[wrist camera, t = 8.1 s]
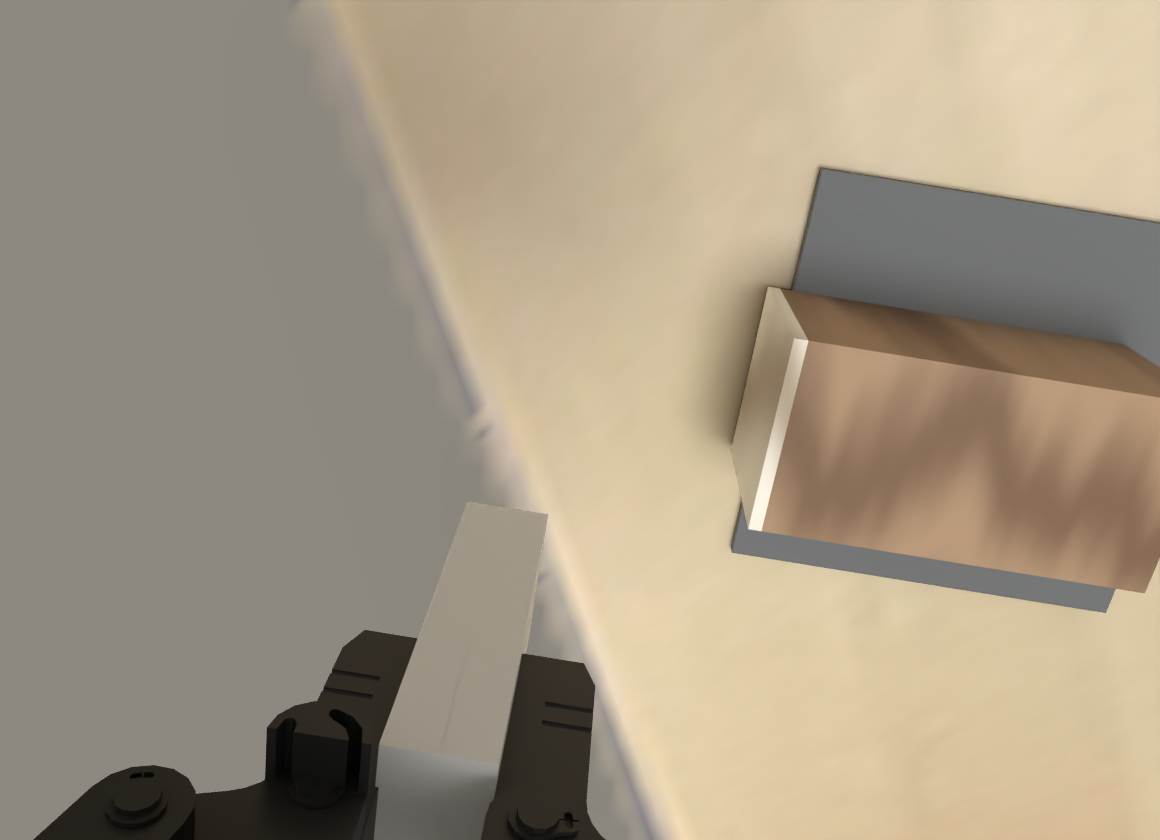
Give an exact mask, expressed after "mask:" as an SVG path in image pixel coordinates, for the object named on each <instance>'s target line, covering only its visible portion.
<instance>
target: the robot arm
mask: <svg viewBox="0 0 1160 840" xmlns="http://www.w3.org/2000/svg"><path fill="white" fill-rule="evenodd" d="M547 518H548V514H542V513H535V512H529V511H523V510H517V509H511V508H505V507H499V506H492V505H486V504H480V503H474V502H467V505H466V508H465V510H464V513H463V516H462V519H461V521H460V524H459V527H458V529H457V532H456V535H455V538H454V540H453V543H452V546H451V548H450V551H449V554H448V557H447V560H446V562H445V565H444V568H443V570H442V573H441V576H440V579H439V582H438V584H437V587H436V590H435V592H434V595H433V598H432V601H431V603H430V606H429V609H428V611H427V614H426V617H425V620H424V623H423V625H422V628H421V631H420V633H419V636H418V639H417V638H411V637H404V636H399V635H393V634H386V633H380V632H374V631H368V630H364V631H363V632H362V633H361V634H359V635H358V636H357V637H355V638H354V639H353V640H351V641H350V642H349V643H348V644H347V645H345V646H344V647H343V648H342V650H341V652H340V654H339V656H338V658H337V661H336V663H335V665H334V667H333V669H332V673H331V674H330V675H329V677H328V680H327V682H326V684H325V686H324V690H323V691H322V692H321V694H320V696H319V698H318V701H314V702H309V703H305V704H300V705H296V706H293V707H291V708H290V709H288V710H286V711H284V712H282V713H280V714H279V715H277V716H276V718H275V719H274V720H273V721H272V722H271V724H270V725H269V726H268V727H267V743H266V772H265V780H264V781H262V782H260V783H257V784H255V785H252V786H249V787H246V788H242V789H236V790H231V791H222V792H211V793H200V794H195V790H194V788H193V786H192V784H191V782H190V781H189V779H188V778H187V777H185V776H184V775H182V774H180V773H179V772H177V771H175V770H174V769H170V768H165V767H160V766H155V765H152V766H140V767H131V768H128V769H125V770H122V771H119V772H116V773H113V774H110V775H109V776H107V777H106V778H104V779H103V780H101V781H100V782H99V783H97V784H95V785H94V786H92V787H91V788H90V789H89V790H88V791H87V792H86V793H84V794H83V795H82V796H81V797H80V798H79V799H78V800H77V801H76V802H75V803H73V804H72V805H71V806H70V807H69V808H68V809H67V810H66V811H65V812H63V813H62V814H61V815H60V816H59V817H58V818H57V819H56V820H55V821H54V822H52V823H51V824H50V825H49V826H48V827H47V828H46V829H45V830H44V831H42V832H41V833H40V834H39V835H38V836H37V837H36V838H35V839H34V840H605V839H604V838H603V837H602V836H601V835H600V834H599V833H598V831H597V830H596V828H595V827H594V826H593V824H592V822H591V820H590V817H589V815H588V813H587V803H586V799H587V785H588V773H589V772H588V771H589V759H590V746H591V731H592V720H593V707H594V694H595V685H594V683H593V681H592V679H591V677H590V675H589V673H588V671H587V669H586V667H585V665H584V663H578V662H572V661H565V660H559V659H553V658H547V657H541V656H535V655H528V654H526V650H527V644H528V639H529V633H530V627H531V620H532V614H533V607H534V601H535V595H536V588H537V582H538V575H539V569H540V563H541V556H542V550H543V543H544V537H545V530H546V524H547Z"/></svg>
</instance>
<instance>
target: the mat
mask: <svg viewBox="0 0 1160 840" xmlns="http://www.w3.org/2000/svg"><path fill="white" fill-rule="evenodd" d="M792 291H798V292H804V293H810V294H817V295H823V296H829V297H835V298H841V299H847V300H854V301H860V302H866V303H872V304H878V305H884V306H890V307H897V308H903V309H909V310H915V311H921V312H927V313H934V314H940V315H946V316H952V317H958V318H964V319H970V320H977V321H983V322H989V323H995V324H1001V325H1007V326H1014V327H1020V328H1026V329H1032V330H1038V331H1044V332H1050V333H1057V334H1063V335H1069V336H1075V337H1081V338H1087V339H1094V340H1100V341H1106V342H1112V343H1118V344H1124V345H1126V346H1127V347H1129V348H1130V349H1132V350H1133V351H1135V352H1137V353H1138V354H1140V355H1141V356H1143V357H1144V358H1146V359H1147V360H1149V361H1151V362H1152V363H1154V364H1155V365H1157V366H1158V367H1160V223H1158V222H1152V221H1145V220H1139V219H1133V218H1127V217H1121V216H1115V215H1109V214H1102V213H1096V212H1090V211H1084V210H1078V209H1072V208H1066V207H1059V206H1053V205H1047V204H1041V203H1035V202H1029V201H1023V200H1016V199H1010V198H1004V197H998V196H992V195H986V194H980V193H973V192H967V191H961V190H955V189H949V188H943V187H937V186H930V185H924V184H918V183H912V182H906V181H900V180H894V179H887V178H881V177H875V176H869V175H863V174H857V173H851V172H844V171H838V170H832V169H826V168H820V172H819V177H818V181H817V185H816V189H815V194H814V198H813V202H812V206H811V211H810V215H809V219H808V223H807V227H806V232H805V236H804V240H803V244H802V249H801V253H800V257H799V261H798V266H797V270H796V274H795V278H794V283H793V287H792ZM731 550H732V553H738V554H744V555H750V556H756V557H762V558H769V559H775V560H781V561H787V562H793V563H800V564H806V565H812V566H818V567H824V568H831V569H837V570H843V571H849V572H855V573H862V574H868V575H874V576H880V577H886V578H893V579H899V580H905V581H911V582H917V583H923V584H930V585H936V586H942V587H948V588H954V589H961V590H967V591H973V592H979V593H985V594H992V595H998V596H1004V597H1010V598H1016V599H1023V600H1029V601H1035V602H1041V603H1047V604H1054V605H1060V606H1066V607H1072V608H1078V609H1085V610H1091V611H1097V612H1103V613H1106V611H1107V609H1108V606H1109V604H1110V601H1111V599H1112V596H1113V594H1114V591H1115V588H1109V587H1103V586H1097V585H1091V584H1084V583H1078V582H1072V581H1066V580H1060V579H1054V578H1047V577H1041V576H1035V575H1029V574H1023V573H1016V572H1010V571H1004V570H998V569H992V568H985V567H979V566H973V565H967V564H961V563H955V562H948V561H942V560H936V559H930V558H924V557H917V556H911V555H905V554H899V553H893V552H887V551H880V550H874V549H868V548H862V547H856V546H849V545H843V544H837V543H831V542H825V541H819V540H812V539H806V538H800V537H794V536H788V535H781V534H775V533H769V532H763V531H757V530H751V529H748V526H747V522H746V517H745V512H744V508H743V503H741V507H740V512H739V516H738V520H737V524H736V529H735V533H734V537H733V541H732V545H731Z"/></svg>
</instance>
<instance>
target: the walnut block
mask: <svg viewBox="0 0 1160 840" xmlns="http://www.w3.org/2000/svg"><path fill="white" fill-rule="evenodd" d="M731 453H732V458H733V462H734V467H735V471H736V476H737V480H738V485H739V490H740V494H741V499H742V503H743V508H744V512H745V517H746V522H747V526H748V529H751V530H757V531H763V532H769V533H775V534H781V535H788V536H794V537H800V538H806V539H812V540H819V541H825V542H831V543H837V544H843V545H849V546H856V547H862V548H868V549H874V550H880V551H887V552H893V553H899V554H905V555H911V556H917V557H924V558H930V559H936V560H942V561H948V562H955V563H961V564H967V565H973V566H979V567H985V568H992V569H998V570H1004V571H1010V572H1016V573H1023V574H1029V575H1035V576H1041V577H1047V578H1054V579H1060V580H1066V581H1072V582H1078V583H1084V584H1091V585H1097V586H1103V587H1109V588H1115V589H1122V590H1128V591H1134V592H1140V593H1145V591H1146V589H1147V587H1148V584H1149V582H1150V579H1151V577H1152V575H1153V572H1154V570H1155V567H1156V565H1157V563H1158V560H1159V558H1160V367H1158V366H1157V365H1155V364H1154V363H1152V362H1151V361H1149V360H1147V359H1146V358H1144V357H1143V356H1141V355H1140V354H1138V353H1137V352H1135V351H1133V350H1132V349H1130V348H1129V347H1127V346H1126V345H1124V344H1118V343H1112V342H1106V341H1100V340H1094V339H1087V338H1081V337H1075V336H1069V335H1063V334H1057V333H1050V332H1044V331H1038V330H1032V329H1026V328H1020V327H1014V326H1007V325H1001V324H995V323H989V322H983V321H977V320H970V319H964V318H958V317H952V316H946V315H940V314H934V313H927V312H921V311H915V310H909V309H903V308H897V307H890V306H884V305H878V304H872V303H866V302H860V301H854V300H847V299H841V298H835V297H829V296H823V295H817V294H810V293H804V292H798V291H792V290H786V289H780V288H774V287H768V289H767V294H766V298H765V302H764V307H763V311H762V316H761V320H760V324H759V329H758V333H757V338H756V342H755V346H754V351H753V355H752V360H751V364H750V369H749V373H748V377H747V382H746V386H745V391H744V395H743V399H742V404H741V408H740V413H739V417H738V421H737V426H736V430H735V435H734V439H733V444H732V448H731Z"/></svg>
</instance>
